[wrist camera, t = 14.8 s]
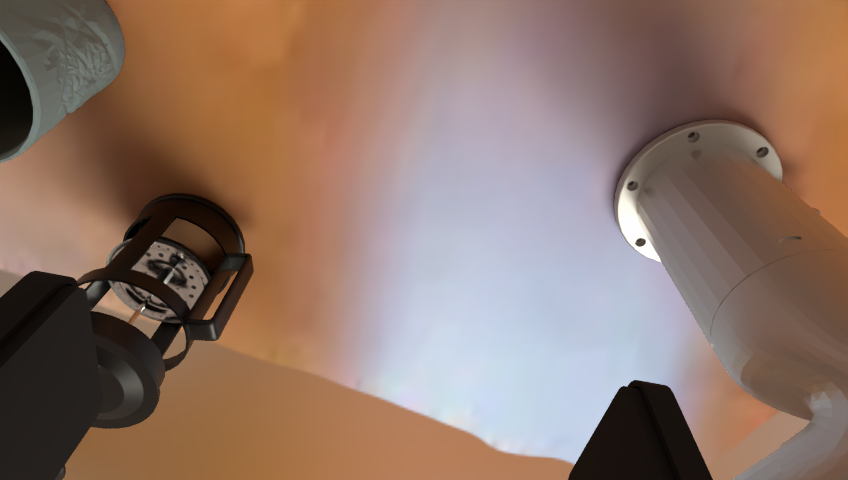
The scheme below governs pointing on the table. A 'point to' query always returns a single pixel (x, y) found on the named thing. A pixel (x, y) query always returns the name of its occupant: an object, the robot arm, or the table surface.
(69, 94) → the grey embossed plant pot
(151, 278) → the french press
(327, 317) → the table surface
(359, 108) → the table surface
